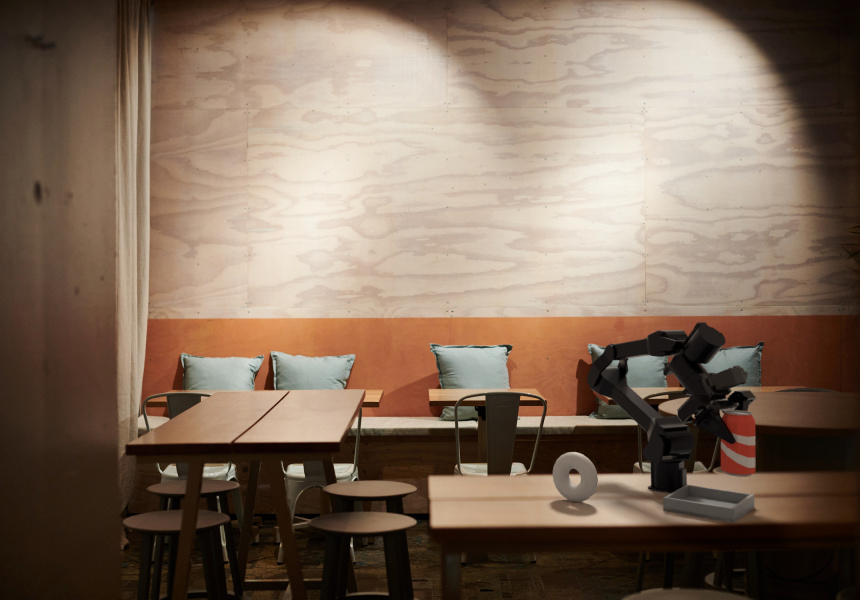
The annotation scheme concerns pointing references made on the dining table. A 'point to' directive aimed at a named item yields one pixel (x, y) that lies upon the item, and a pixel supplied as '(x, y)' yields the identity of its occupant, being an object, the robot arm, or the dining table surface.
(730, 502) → the tray
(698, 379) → the robot arm
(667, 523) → the dining table surface
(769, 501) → the dining table surface
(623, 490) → the dining table surface
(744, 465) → the beverage can
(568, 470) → the donut
